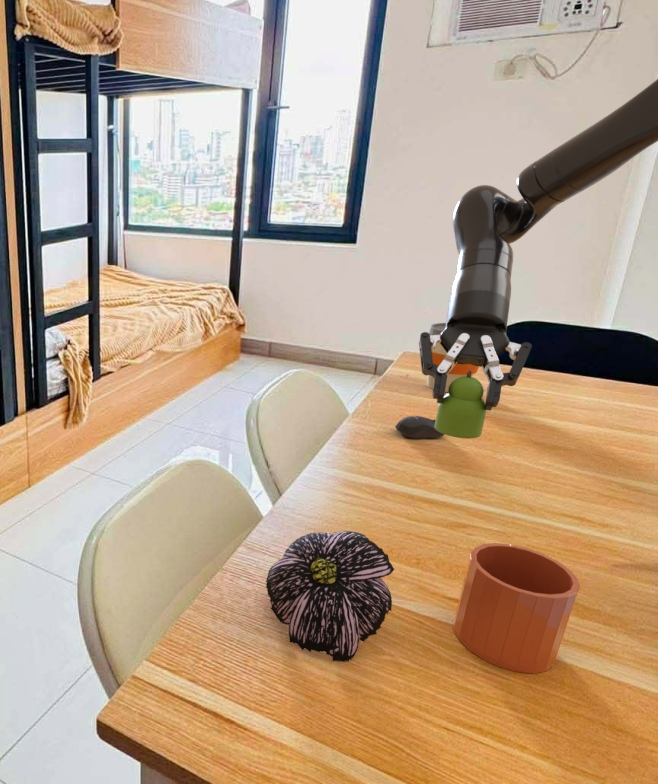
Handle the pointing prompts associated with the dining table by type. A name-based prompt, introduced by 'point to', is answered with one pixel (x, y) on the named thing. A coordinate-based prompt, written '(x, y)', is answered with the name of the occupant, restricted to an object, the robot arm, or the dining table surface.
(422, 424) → the computer mouse
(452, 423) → the green pear
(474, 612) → the terracotta cup
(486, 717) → the dining table surface
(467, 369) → the reusable coffee cup
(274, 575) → the decorative flower
